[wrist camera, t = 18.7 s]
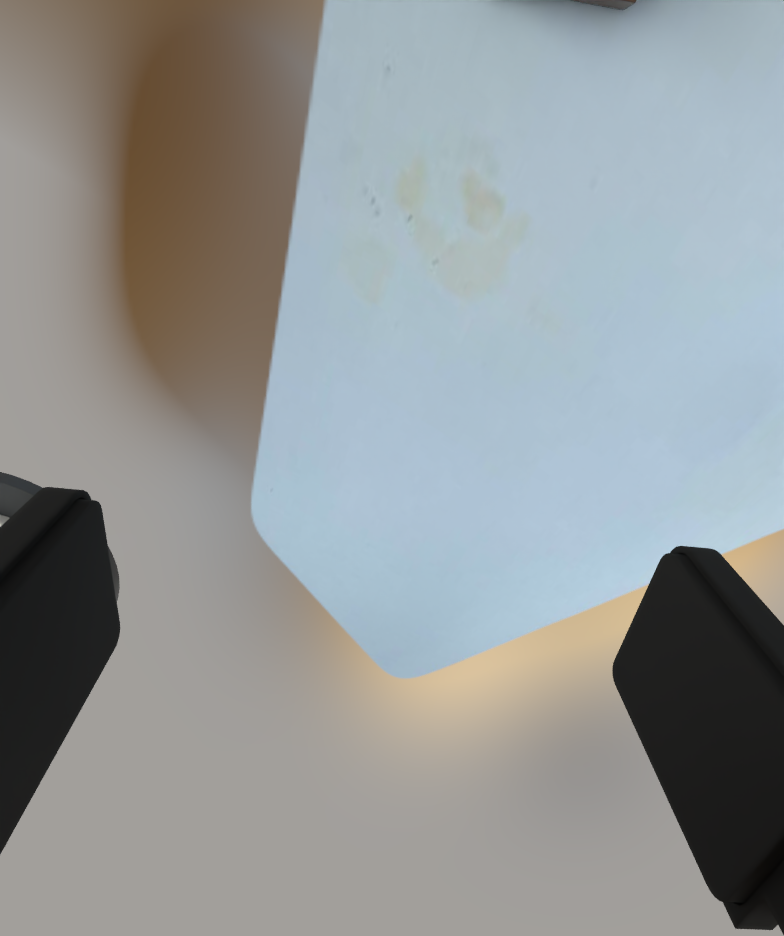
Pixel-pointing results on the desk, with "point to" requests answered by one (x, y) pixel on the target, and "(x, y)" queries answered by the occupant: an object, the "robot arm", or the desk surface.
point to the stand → (610, 3)
